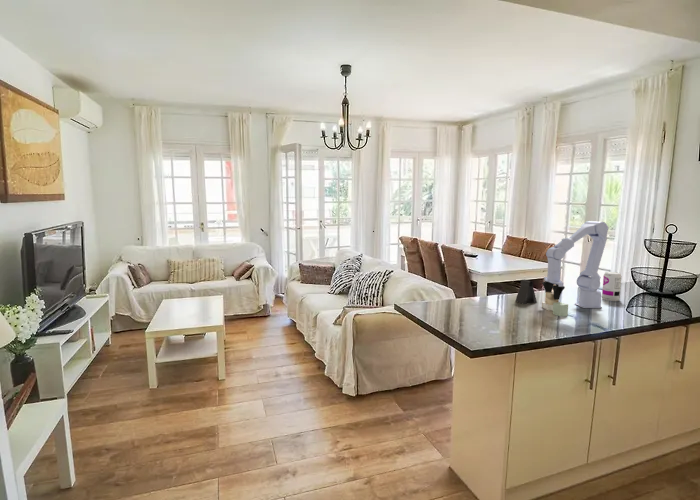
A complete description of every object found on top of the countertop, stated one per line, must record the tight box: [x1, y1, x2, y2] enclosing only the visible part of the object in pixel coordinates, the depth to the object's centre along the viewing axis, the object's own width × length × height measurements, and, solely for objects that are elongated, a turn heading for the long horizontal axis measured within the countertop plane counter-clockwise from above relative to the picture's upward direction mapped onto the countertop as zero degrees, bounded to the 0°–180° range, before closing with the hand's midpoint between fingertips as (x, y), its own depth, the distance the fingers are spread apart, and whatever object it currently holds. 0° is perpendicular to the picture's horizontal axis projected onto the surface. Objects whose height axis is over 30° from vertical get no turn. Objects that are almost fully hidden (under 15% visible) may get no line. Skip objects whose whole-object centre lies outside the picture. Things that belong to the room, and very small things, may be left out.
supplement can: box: [601, 271, 622, 302], centre depth 215 cm, size 8×8×15 cm
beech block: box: [544, 291, 560, 305], centre depth 198 cm, size 4×4×6 cm
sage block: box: [552, 301, 569, 317], centre depth 187 cm, size 4×4×6 cm
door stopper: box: [514, 279, 538, 305], centre depth 211 cm, size 9×6×12 cm, turn 108°
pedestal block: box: [541, 301, 553, 311], centre depth 199 cm, size 7×7×3 cm
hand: (552, 297), depth 198 cm, fingers open, 7 cm apart
